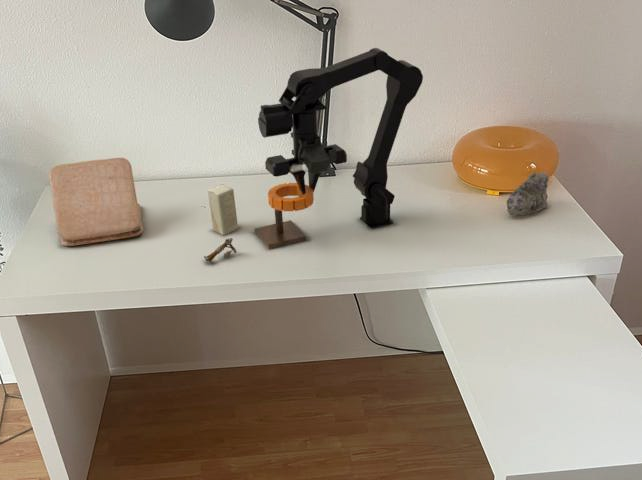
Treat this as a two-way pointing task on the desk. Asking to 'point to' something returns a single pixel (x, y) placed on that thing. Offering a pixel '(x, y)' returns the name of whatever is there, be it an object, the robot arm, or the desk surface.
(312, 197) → the orange ring
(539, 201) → the mineral rock
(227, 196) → the box
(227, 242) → the wooden post with brackets
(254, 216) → the desk surface
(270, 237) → the brown peg stand
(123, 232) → the case
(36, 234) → the desk surface
